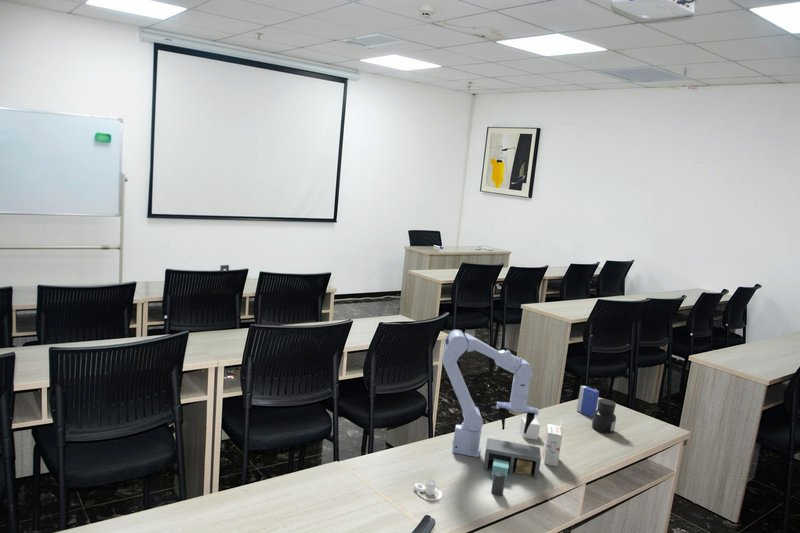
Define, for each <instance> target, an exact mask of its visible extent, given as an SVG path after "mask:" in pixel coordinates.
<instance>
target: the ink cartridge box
mask: <svg viewBox="0 0 800 533" xmlns="http://www.w3.org/2000/svg"><path fill="white" fill-rule="evenodd" d="M546 426H547V427H546V434H545V439H544V440H545V442H544V444H543V446H544V447H543V453H542V454H543V455H542V456H543V464H544V465H549V466H553V467H558V465H559V460H560V453H561V452H560V451H561V447H562V446H561V445H562V438H563V421H562V418H560V425H556V424H550V423H547V425H546Z"/></svg>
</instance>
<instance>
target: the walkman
mask: <svg viewBox="0 0 800 533" xmlns="http://www.w3.org/2000/svg"><path fill="white" fill-rule="evenodd" d="M599 396H600V390H598V389H596V388H594V389H593V388H592V387H590V386H586V385H580V388H579V394H578V399H577V400H578V401H577V405H576V406H577V407H576V412H577V411H579V412H581V413H580V414H582V413H583V414H582V415H584V414H586V415H585V416H587V415H588V416H587V417H589V416H590V417H589V418H593V415H594V412H595V411H596V410H597V409H598V401H599ZM579 412H578V413H579Z"/></svg>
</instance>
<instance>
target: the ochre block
mask: <svg viewBox="0 0 800 533" xmlns="http://www.w3.org/2000/svg"><path fill="white" fill-rule="evenodd" d="M514 465H515V466H514V467H515V473H519V474H525V475H530V476H531V474H532V469H533V468H532V461H531V460H526V459H520V458H516V463H515V464H514Z"/></svg>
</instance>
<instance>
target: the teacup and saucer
mask: <svg viewBox="0 0 800 533" xmlns="http://www.w3.org/2000/svg"><path fill="white" fill-rule="evenodd" d="M425 487H426V488H425ZM413 489H414V490H415V491H416V493H417V492H422V493H424V492H425V493H426V495H427V494H428V495H427V496H434V495H435V494H438V493H439V496H438V495H437V496H436V497H435V499H433V498H430V499H426V498H427V497H426V498H424V499H423V500H425V499H426V501H430V500H431V501H433V502H434V501H439V500H441V499H442V498H443V492H442V491H441V490H440V487H439V486H438V485H437V482H436V480H434V479H426V481H425V485H424V484H422V483H419V482H417V483H415V484H414V485H413ZM435 490H436V491H437V492H438V493H437V492H436V491H435ZM431 501H430V502H431Z"/></svg>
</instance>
